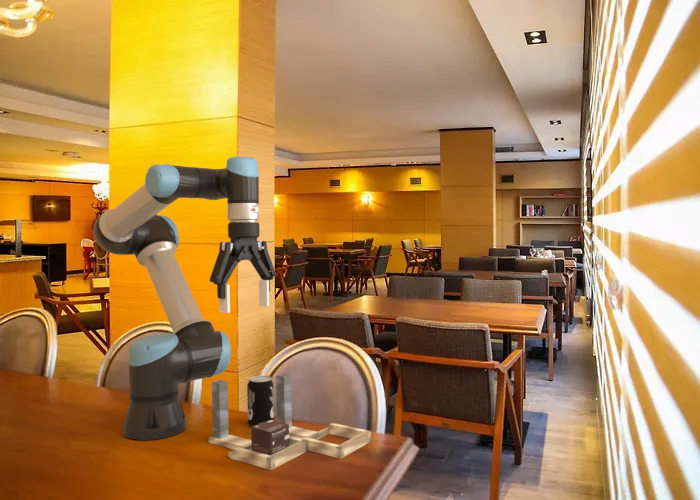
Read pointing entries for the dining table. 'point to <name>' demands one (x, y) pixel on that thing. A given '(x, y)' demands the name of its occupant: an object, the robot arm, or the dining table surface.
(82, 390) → the dining table surface
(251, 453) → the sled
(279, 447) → the box
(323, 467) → the dining table surface
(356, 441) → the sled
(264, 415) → the beverage can
